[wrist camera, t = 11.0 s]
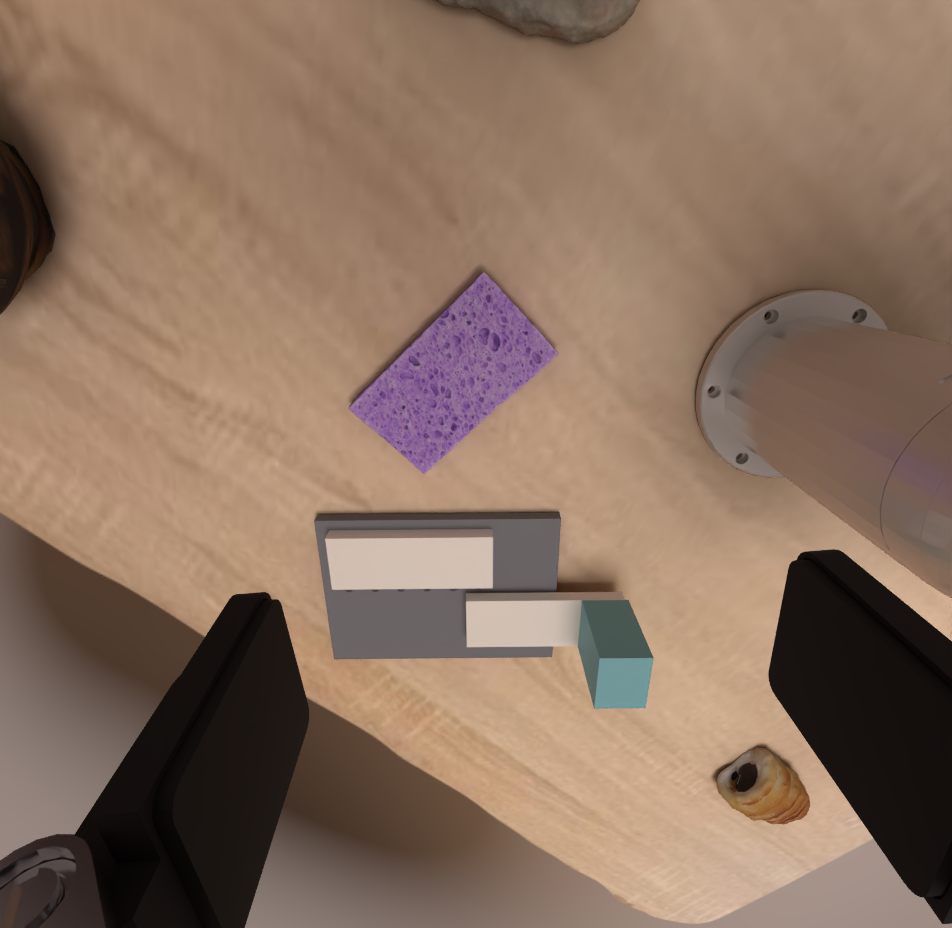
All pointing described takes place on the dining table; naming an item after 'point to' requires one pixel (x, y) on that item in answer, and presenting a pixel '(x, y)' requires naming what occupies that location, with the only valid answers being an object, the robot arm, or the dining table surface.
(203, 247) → the dining table surface
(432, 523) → the mat
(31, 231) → the ceramic jug
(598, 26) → the elongated rock
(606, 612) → the stub
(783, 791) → the pastry
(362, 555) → the ticket
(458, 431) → the sponges
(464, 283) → the dining table surface
